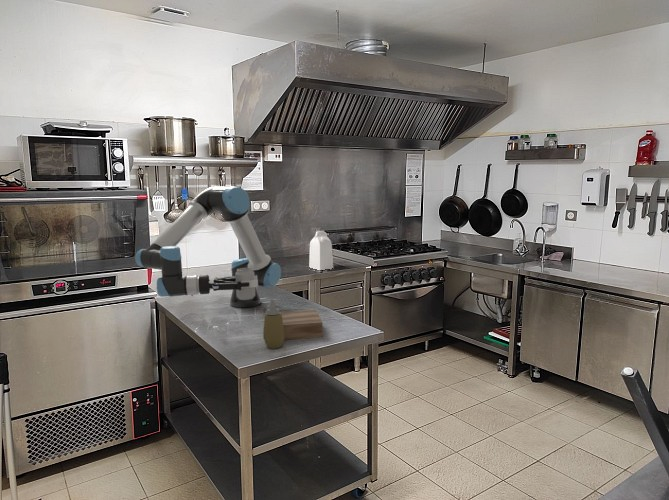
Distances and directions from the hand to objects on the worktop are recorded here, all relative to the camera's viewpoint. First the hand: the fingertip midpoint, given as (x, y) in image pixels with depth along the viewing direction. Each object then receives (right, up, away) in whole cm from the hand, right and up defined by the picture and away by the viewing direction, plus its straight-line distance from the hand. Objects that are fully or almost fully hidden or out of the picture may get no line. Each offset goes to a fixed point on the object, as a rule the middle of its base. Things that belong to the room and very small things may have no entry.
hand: (257, 281), depth 192 cm
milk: (+22, -1, +134) cm, 136 cm away
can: (-5, -7, 0) cm, 8 cm away
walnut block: (+16, -21, +4) cm, 27 cm away
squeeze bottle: (+8, -24, -12) cm, 28 cm away
